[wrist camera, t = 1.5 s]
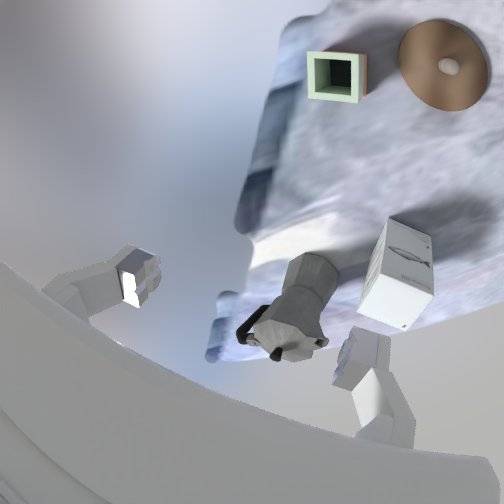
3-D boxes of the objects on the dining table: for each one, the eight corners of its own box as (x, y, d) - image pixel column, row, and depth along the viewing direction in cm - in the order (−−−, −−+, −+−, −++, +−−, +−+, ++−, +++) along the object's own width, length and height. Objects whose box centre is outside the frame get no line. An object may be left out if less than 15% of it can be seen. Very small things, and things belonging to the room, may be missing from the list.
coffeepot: (342, 247, 45) (309, 338, 33) (356, 292, 49) (329, 382, 37) (259, 257, 54) (208, 332, 42) (279, 296, 58) (237, 372, 46)
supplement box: (432, 234, 37) (436, 296, 28) (410, 271, 42) (406, 334, 33) (387, 214, 39) (379, 272, 30) (369, 253, 44) (355, 314, 35)
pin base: (485, 35, 19) (501, 32, 14) (480, 119, 25) (494, 131, 21) (397, 14, 23) (398, 5, 18) (396, 99, 29) (398, 106, 25)
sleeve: (366, 54, 28) (360, 52, 22) (366, 96, 31) (359, 105, 25) (322, 50, 30) (304, 49, 24) (323, 91, 33) (306, 100, 27)
